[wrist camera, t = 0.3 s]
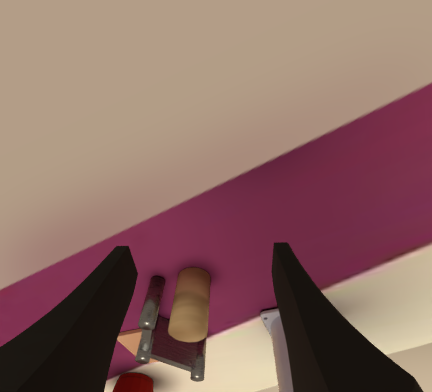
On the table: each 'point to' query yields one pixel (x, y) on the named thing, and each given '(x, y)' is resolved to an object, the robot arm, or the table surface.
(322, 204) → the table surface
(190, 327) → the oak dowel
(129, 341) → the coaster
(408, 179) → the table surface
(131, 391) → the plastic cup
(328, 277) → the table surface
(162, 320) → the bent rail
